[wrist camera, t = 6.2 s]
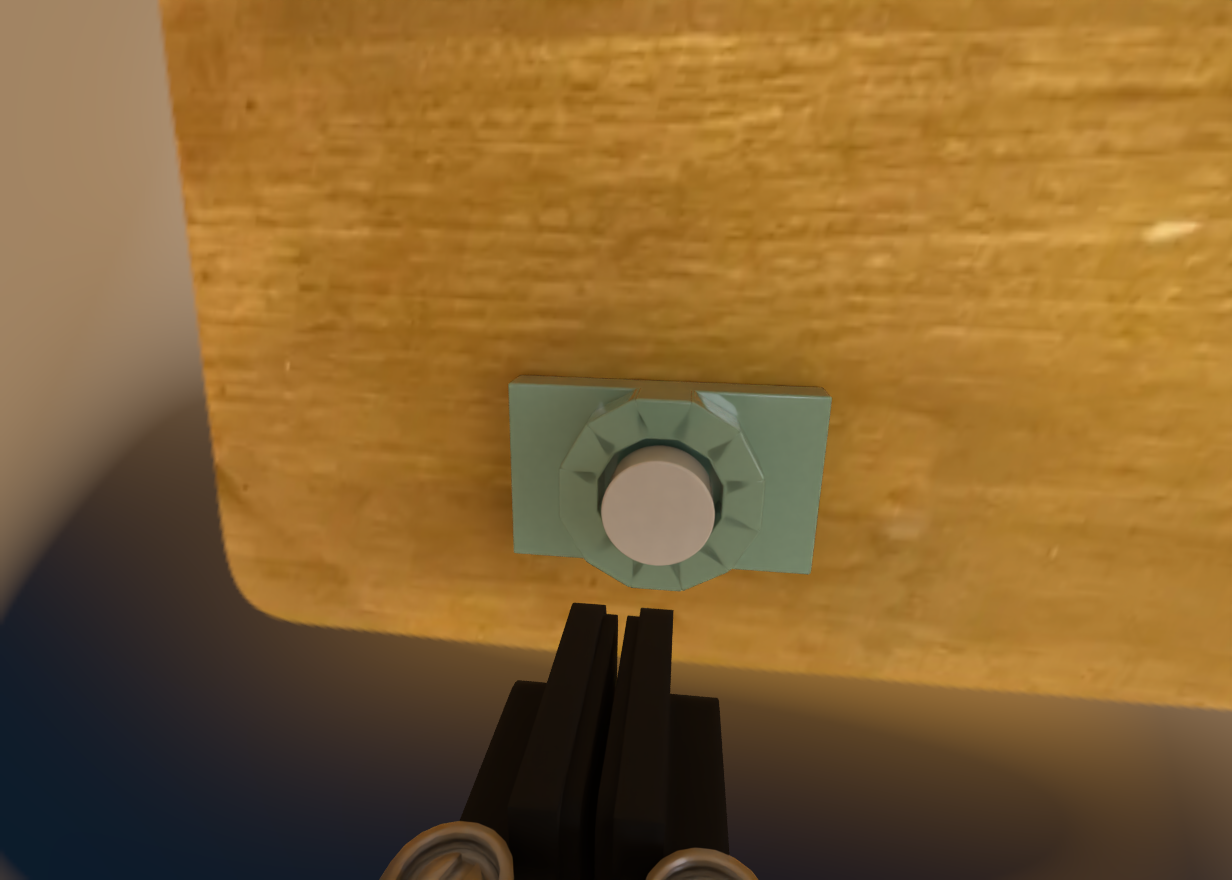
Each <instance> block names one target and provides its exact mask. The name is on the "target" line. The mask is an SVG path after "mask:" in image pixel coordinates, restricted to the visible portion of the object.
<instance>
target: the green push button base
mask: <svg viewBox="0 0 1232 880" xmlns="http://www.w3.org/2000/svg"><path fill="white" fill-rule="evenodd" d="M508 391H509V422H510V452H511V482H512V512H513V543H514V553H521V554H535V555H548V556H562V557H576V558H584V559H585V560H586V561H587V562H588V563H590V564H591V565H593V566H595V567H596V568H598V569H600V570H601V571H603V572H605V573H606V574H608V575H610V576H611V577H613V578H615V579H616V580H618V581H620V582H621V583H623V584H625V585H626V586H628V587H631V588H642V589H655V590H668V591H681V590H682V591H684V590H686V589H689V588H691V587H693V586H696V585H698V584H701V583H703V582H705V581H708V580H710V579H712V578H715V577H717V576H720V575H722V574H724V573H727V572H728V571H730V570H731V569H742V570H755V571H769V572H783V573H797V574H810V573H811V567H812V559H813V551H814V543H815V534H816V526H817V518H818V510H819V502H820V494H821V485H822V477H823V469H824V461H825V453H826V444H827V436H828V428H829V420H830V412H831V404H832V397H831V396H830V395H829V394H828V393H827V392H826V390H825V389H824V388H822V387H800V386H776V385H752V384H728V383H704V382H679V381H655V380H631V379H607V378H582V377H558V376H534V375H520V376H518V377H517V378H515V379H514V380H512V381H511V382H510V383H509V384H508ZM654 445H663V446H670V447H674V448H678V449H680V450H683V451H685V452H687V453H688V454H690V455H691V456H693V457H694V458H695V459H696V460H698V461H699V462H700V463H701V465H702V466H703V467H704V468H705V470H706V472H707V473H708V475H709V478H710V480H711V483H712V487H713V495H714V507H715V520H714V526H713V529H712V532H711V535H710V537H709V539H708V540H707V542H706V543H705V545H704V546H703V547H702V548H701V549H700V550H699V551H698V552H697V553H696V554H694V555H693V556H691V557H690V558H688V559H686V560H684V561H682V562H679V563H676V564H671V565H664V566H655V565H648V564H644V563H640V562H638V561H635V560H633V559H631V558H629V557H627V556H626V555H625V554H623V553H622V552H621V551H619V550H618V549H617V548H616V547H615V545H614V544H613V543H612V542H611V540H610V539H609V537H608V536H607V534H606V532H605V529H604V526H603V523H602V518H601V505H602V500H603V496H604V493H605V491H606V488H607V485H608V482H609V480H610V477H611V474H612V472H613V471H614V469H615V467H616V466H617V465H618V463H619V462H620V461H621V460H622V459H623V458H625V457H626V456H627V455H628V454H630V453H632V452H634V451H636V450H638V449H640V448H644V447H647V446H654Z"/></svg>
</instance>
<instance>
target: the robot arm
mask: <svg viewBox="0 0 1232 880" xmlns="http://www.w3.org/2000/svg"><path fill="white" fill-rule="evenodd" d="M672 633H673V610H664V609H651V608H641V611H640V617H638V616H627V621H626V628H625V634H624V640H623V646H622V652H621V658H620V666H619V671H618V677H617V646H618V615H612V614H606V605H598V604H585V603H573V604H572V606H571V609H570V613H569V616H568V619H567V622H566V625H565V628H564V631H563V634H562V637H561V641H560V644H559V647H558V650H557V653H556V656H555V660H554V662H553V666H552V669H551V672H550V675H549V678H548V681H547V683H542V682H531V681H520V680H518V681H517V682H515V684H514V686H513V688H512V690H511V692H510V695H509V697H508V700H507V702H506V705H505V707H504V710H503V712H502V715H501V717H500V720H499V722H498V725H497V727H496V730H495V732H494V735H493V738H492V740H491V743H490V745H489V748H488V750H487V753H486V755H485V758H484V760H483V763H482V765H481V768H480V770H479V773H478V776H477V778H476V781H475V783H474V786H473V788H472V791H471V794H470V796H469V798H468V801H467V803H466V806H465V808H464V811H463V814H462V816H461V819H460V821H458V822H452V823H446V824H441V825H438V826H436V827H433V828H432V829H429V830H427V831H424V832H422V833H421V834H419V835H418V836H417V837H416V838H414V839H413V840H411V841H410V842H409V843H407V844H406V845H405V846H404V847H403V848H402V849H401V850H400V852H399V853H398V854H397V855H396V857H395V858H394V859H393V860H392V861H391V863H390V864H389V866H388V867H387V869H386V870H385V872H384V874H383V875H382V876H381V878H380V880H758V879H757V877H756V876H755V875H754V874H753V872H752V871H751V870H750V869H748V868H747V867H746V866H744V865H743V864H742V863H740V862H739V861H738V860H736V859H735V858H733V857H731V856H729V843H728V828H727V813H726V798H725V783H724V769H723V754H722V739H721V724H720V710H719V700H718V698H710V697H699V696H688V695H677V694H670V683H671V658H672Z"/></svg>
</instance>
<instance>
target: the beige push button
mask: <svg viewBox="0 0 1232 880" xmlns="http://www.w3.org/2000/svg"><path fill="white" fill-rule="evenodd" d="M601 518H602V523H603V526H604V529H605V532H606V534H607V536H608V537H609V539H610V540H611V542H612V543H613V544H614V545H615V547H616V548H617V549H618V550H619V551H621V552H622V553H623V554H625V555H626V556H627V557H629V558H631V559H633V560H635V561H638V562H640V563H644V564H648V565H655V566H664V565H671V564H676V563H679V562H682V561H684V560H686V559H688V558H690V557H691V556H693V555H694V554H696V553H697V552H698V551H699V550H700V549H701V548H702V547H703V546H704V545H705V543H706V542H707V540H708V539H709V537H710V535H711V532H712V529H713V526H714V520H715V507H714V495H713V487H712V483H711V480H710V478H709V475H708V473H707V472H706V470H705V468H704V467H703V466H702V465H701V463H700V462H699V461H698V460H696V459H695V458H694V457H693V456H691V455H690V454H688V453H687V452H685V451H683V450H680V449H678V448H674V447H670V446H663V445H654V446H647V447H644V448H640V449H638V450H636V451H634V452H632V453H630V454H628V455H627V456H626V457H625V458H623V459H622V460H621V461H620V462H619V463H618V465H617V466H616V467H615V469H614V471H613V472H612V474H611V477H610V480H609V482H608V485H607V488H606V491H605V493H604V496H603V500H602V505H601Z"/></svg>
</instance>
